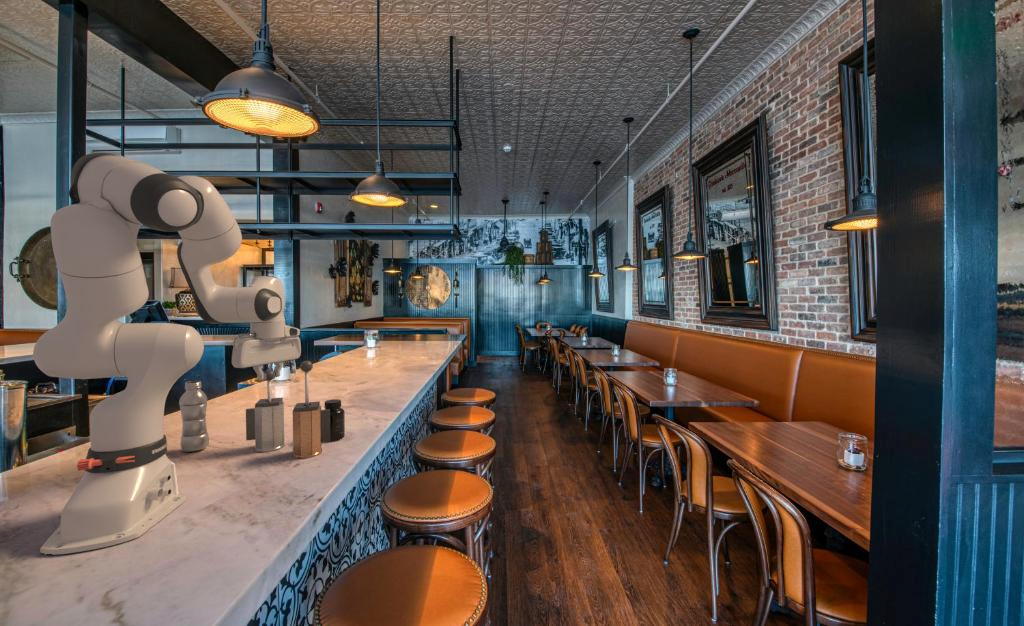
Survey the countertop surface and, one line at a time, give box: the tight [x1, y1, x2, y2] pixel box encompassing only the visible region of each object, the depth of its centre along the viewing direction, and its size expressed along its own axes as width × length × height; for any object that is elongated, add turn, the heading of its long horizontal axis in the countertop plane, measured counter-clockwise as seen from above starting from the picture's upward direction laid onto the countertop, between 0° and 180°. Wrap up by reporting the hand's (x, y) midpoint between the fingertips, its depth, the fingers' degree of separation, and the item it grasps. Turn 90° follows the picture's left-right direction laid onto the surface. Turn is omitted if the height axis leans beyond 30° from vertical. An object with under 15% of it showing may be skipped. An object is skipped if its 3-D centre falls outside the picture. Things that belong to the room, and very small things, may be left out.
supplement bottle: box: [323, 398, 346, 443], centre depth 127 cm, size 7×7×12 cm
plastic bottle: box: [178, 380, 210, 453], centre depth 117 cm, size 6×7×20 cm
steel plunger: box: [263, 369, 276, 401], centre depth 119 cm, size 3×3×15 cm
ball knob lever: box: [299, 360, 314, 406], centre depth 114 cm, size 3×3×15 cm
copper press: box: [292, 401, 330, 460], centre depth 115 cm, size 10×7×14 cm
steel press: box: [245, 397, 286, 453], centre depth 119 cm, size 10×7×14 cm
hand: (269, 378), depth 119 cm, fingers closed on steel plunger, 3 cm apart
